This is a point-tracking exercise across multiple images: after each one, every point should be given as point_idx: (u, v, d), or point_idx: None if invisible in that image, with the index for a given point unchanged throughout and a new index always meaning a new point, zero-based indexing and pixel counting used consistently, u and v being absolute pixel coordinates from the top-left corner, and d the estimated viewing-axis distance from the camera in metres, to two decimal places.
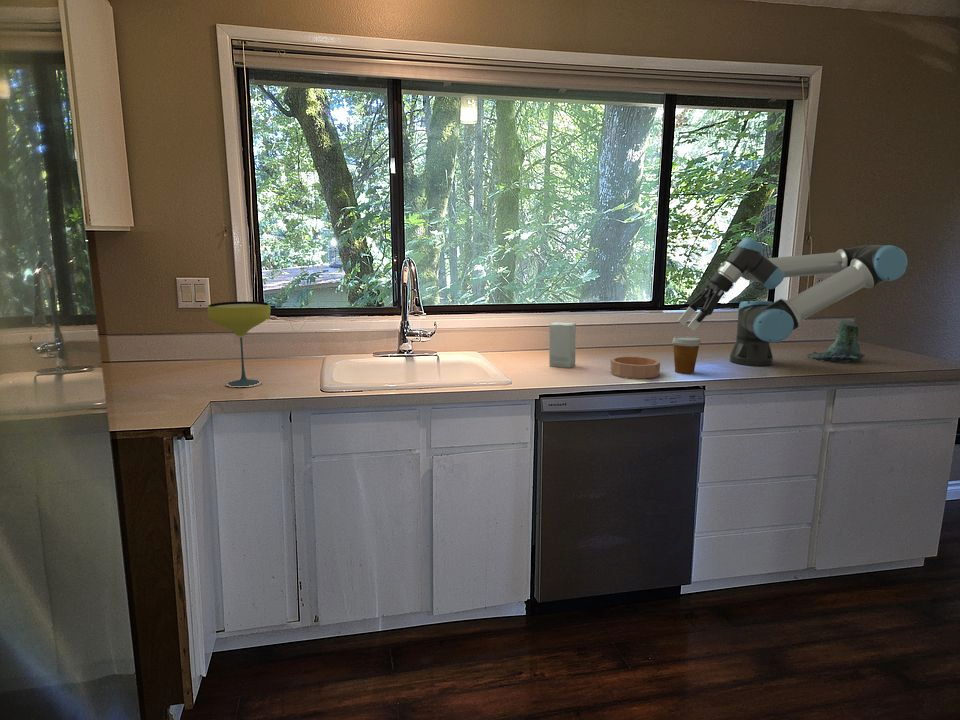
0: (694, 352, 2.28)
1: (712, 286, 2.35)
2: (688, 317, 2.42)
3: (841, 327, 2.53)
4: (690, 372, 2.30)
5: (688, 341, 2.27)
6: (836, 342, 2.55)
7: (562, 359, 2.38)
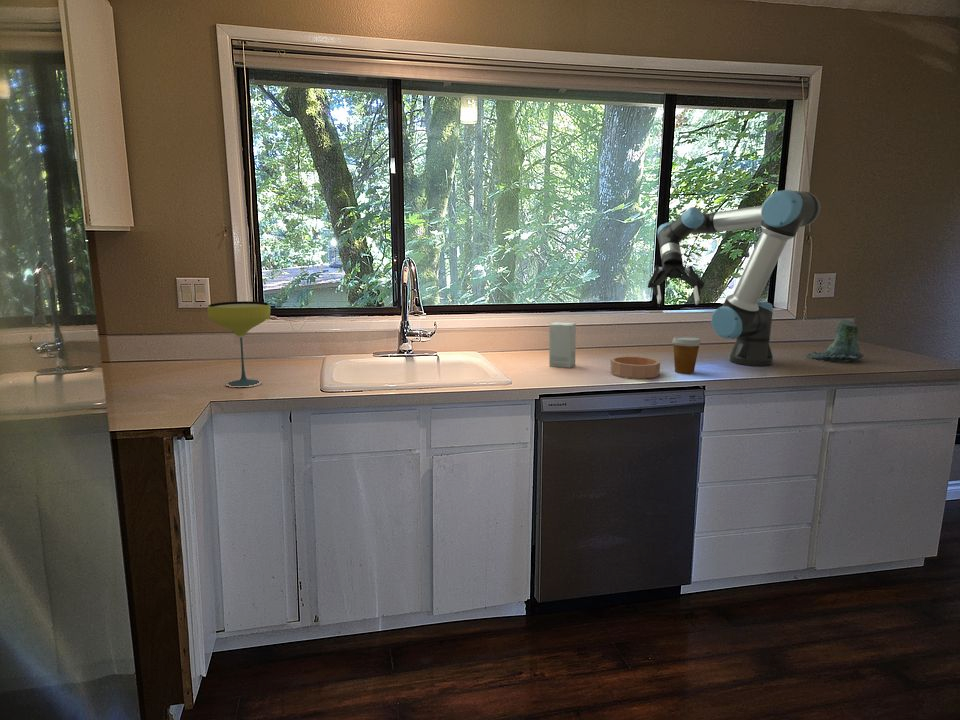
0: (694, 352, 2.28)
1: None
2: (695, 293, 2.43)
3: (840, 327, 2.53)
4: (690, 372, 2.30)
5: (688, 341, 2.27)
6: (835, 342, 2.55)
7: (562, 359, 2.38)
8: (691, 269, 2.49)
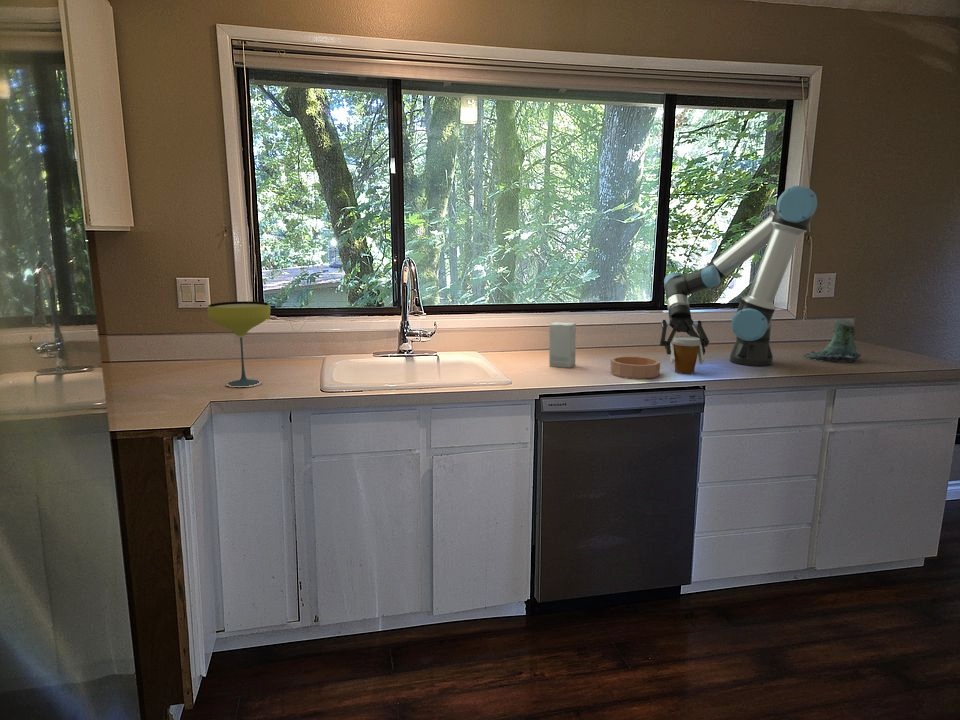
0: (695, 352, 2.28)
1: None
2: (700, 352, 2.30)
3: (837, 327, 2.53)
4: (690, 372, 2.30)
5: (688, 341, 2.27)
6: (832, 342, 2.55)
7: (562, 359, 2.38)
8: (699, 324, 2.36)
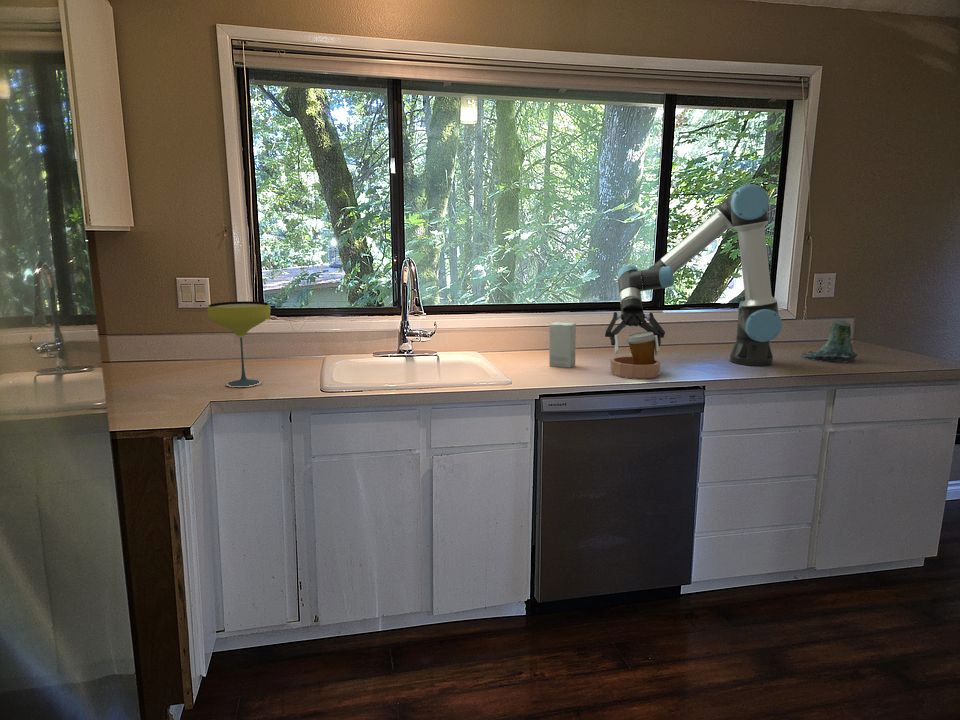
0: (650, 347, 2.26)
1: None
2: (655, 343, 2.27)
3: (833, 326, 2.54)
4: None
5: (641, 338, 2.24)
6: (829, 341, 2.56)
7: (562, 359, 2.38)
8: (651, 316, 2.33)
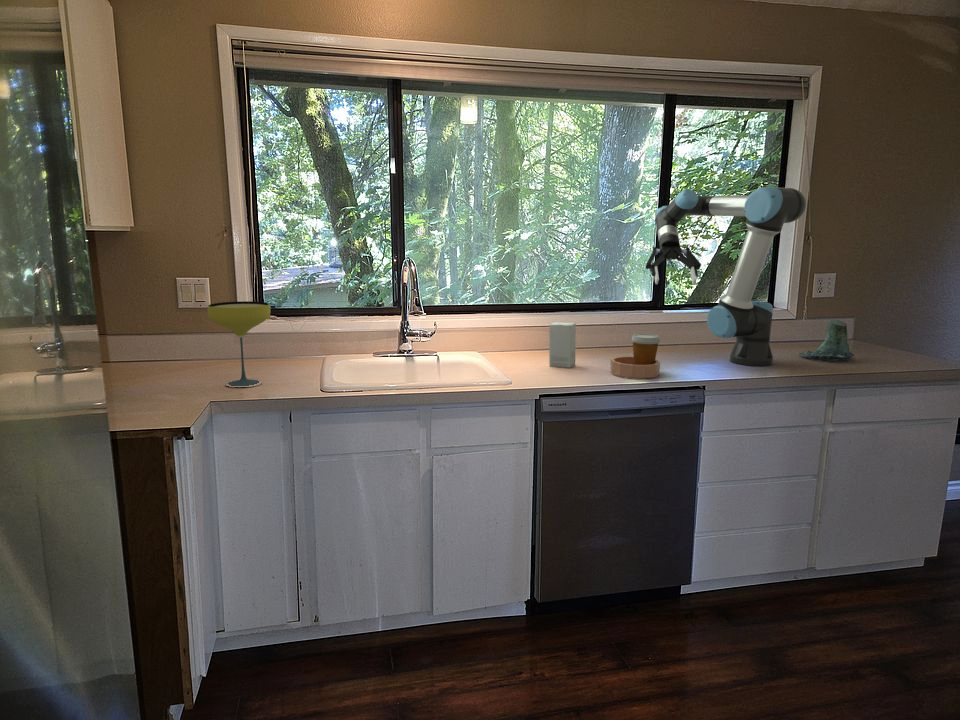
0: (653, 350, 2.26)
1: None
2: (692, 274, 2.48)
3: (830, 326, 2.55)
4: None
5: (646, 339, 2.24)
6: (825, 341, 2.57)
7: (562, 359, 2.38)
8: (688, 250, 2.54)
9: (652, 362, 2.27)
